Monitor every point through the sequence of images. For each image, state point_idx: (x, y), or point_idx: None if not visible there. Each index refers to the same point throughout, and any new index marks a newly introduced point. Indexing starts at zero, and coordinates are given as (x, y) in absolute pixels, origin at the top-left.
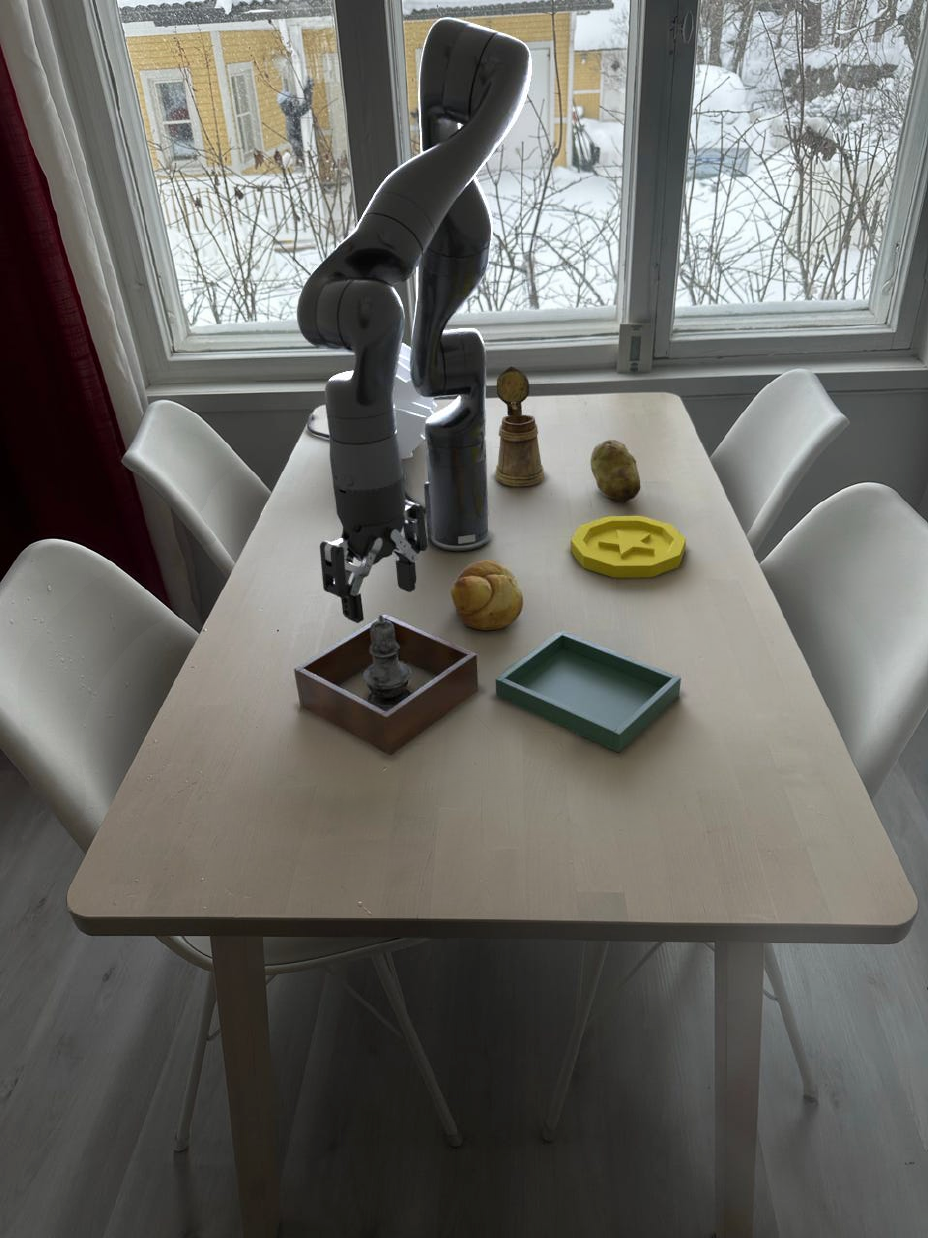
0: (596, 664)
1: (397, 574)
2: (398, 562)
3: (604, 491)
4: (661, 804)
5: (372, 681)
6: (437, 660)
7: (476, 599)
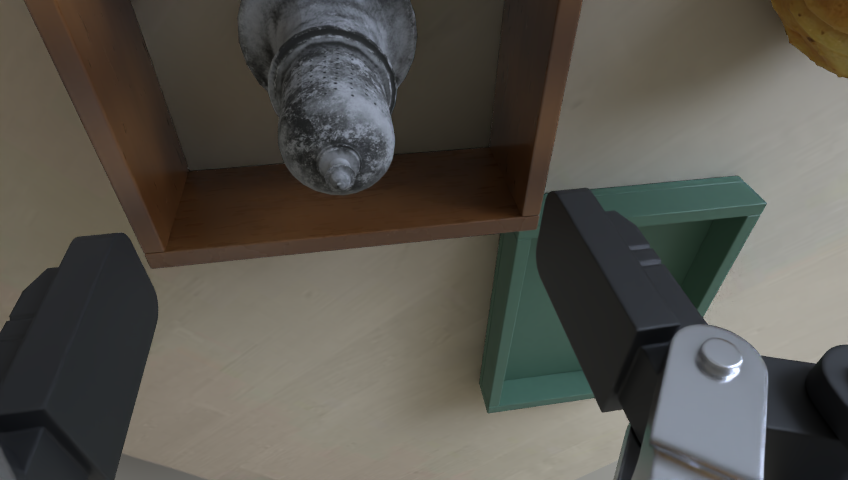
0: (683, 267)
1: (582, 249)
2: (621, 343)
3: None
4: (422, 441)
5: (258, 40)
6: (517, 67)
7: (844, 31)
